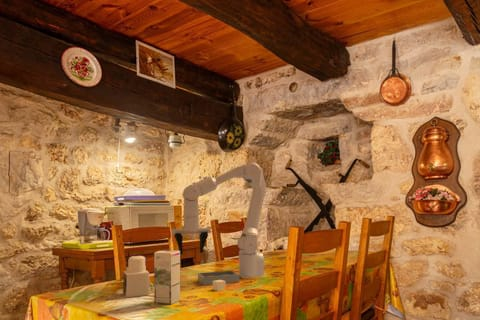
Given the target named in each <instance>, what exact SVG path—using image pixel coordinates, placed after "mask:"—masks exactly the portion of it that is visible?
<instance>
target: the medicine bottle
mask: <svg viewBox="0 0 480 320" xmlns="http://www.w3.org/2000/svg"><path fill="white" fill-rule="evenodd" d="M125 268H126V270H124V271H123V279H122V280H123V281H122V282H123V284H122V285H123V286H122V293H123V295H124V297H125V298H126V299H128V298H137V297H138V298H139V297H146V296H149V295H150V272H149V271H148V270H147V256H145V255H139V254H136V255H130V256H127V258H126V267H125Z"/></svg>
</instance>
